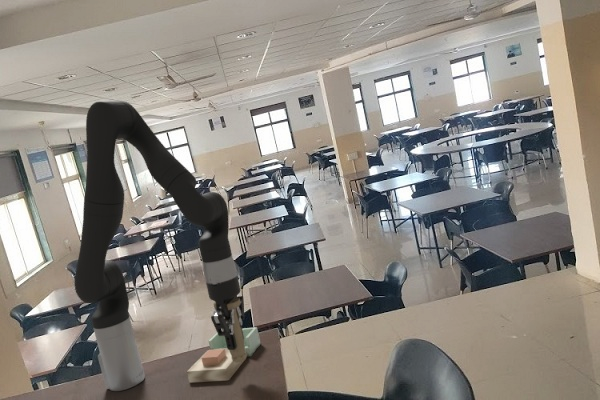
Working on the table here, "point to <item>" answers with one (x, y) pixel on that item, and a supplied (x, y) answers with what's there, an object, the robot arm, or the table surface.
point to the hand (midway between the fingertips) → (236, 344)
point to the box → (249, 341)
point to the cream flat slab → (213, 369)
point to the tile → (213, 357)
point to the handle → (236, 333)
